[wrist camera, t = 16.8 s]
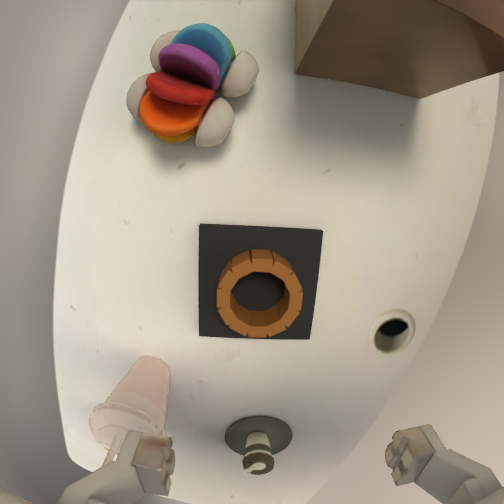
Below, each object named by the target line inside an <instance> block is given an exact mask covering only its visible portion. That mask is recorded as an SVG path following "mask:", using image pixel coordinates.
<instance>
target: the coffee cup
mask: <svg viewBox="0 0 504 504" xmlns="http://www.w3.org/2000/svg"><path fill="white" fill-rule="evenodd" d="M291 440H292V431H291V429H290V427H289V426H288V425H287V424H285V423H284V422H282V421H280V420H278V419H275V418H271V417H251V418H246V419H242V420H240V421H237V422H236V423H234V424H232V425H231V426H230V427H229V429H228V430H227V432H226V435H225V441H226V443H227V445H228V446H229V447H230V448H231V449H232V450H233V451H235V452H236V453H238V454H241V455H244V458H243V467H244V470H245V471H246V472H247V473H250V474H254V475H261V474H265V473H268V472H270V471H271V470H272V469H273V467H274V458H273V457H272V455H274V454H276V453H279V452H281V451H282V450H284V449H285V448H286V447H287V446H288V445H289V444H290V442H291Z"/></svg>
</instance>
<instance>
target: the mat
mask: <svg viewBox="0 0 504 504" xmlns="http://www.w3.org/2000/svg"><path fill="white" fill-rule="evenodd" d="M322 236H323V231H322V230H316V229H300V228H282V227H263V226H243V225H221V224H200V225H199V336H209V337H227V338H250V339H310V333H311V326H312V319H313V312H314V305H315V297H316V290H317V282H318V273H319V265H320V255H321V246H322ZM251 249H263V250H270V253H271V252H272V251H274V252H275V253H277V254H278V255H280V256H281V257H283V258H285V259H286V260H287V261H288V262H289V263H290V265H291V267H292V269H293V271H294V273H295V275H296V277H297V279H298V281H299V283H300V285H301V287H302V292H303V297H302V306H301V310H299V315H298V316H297V317H296V318H295V320H294V321H293V322H292V324H291V325H290V326H289V327H287V326H286V330H284V331H282V332H280V333H278V334H275V335H273V336H271V337H269V336H268V334H267V337H266V338H260V337H248V333H247V334H246V336H243V335H242V334H240V333H238V332H236V331H234V330H233V329H231V328H229V325H226V324H225V322H224V320H223V319H222V317H221V315H220V314H219V312H218V307H217V287H218V283H219V278H220V275H221V273H222V271H223V270H224V268H225V267H226V265H227V264H228V262H229V260H232V258H233V257H235V256H237V255H239V254H241V253H243V252H245V251H247V250H249V251H250V253H251ZM284 286H285V283H284V281H283V280H281V279H280V278H278V277H276V276H275V275H273V274H272V273H270V272H252V273H250V274H248V275H246V276H244V277H242V278H239V279H238V281H237V282H236V284H235V285H234V287H233V288H232V290H231V293H232V294H233V296H234V298H235V300H236V301H237V303H238V304H239V305H241V306H242V307H244V308H246V309H248V310H249V311H265V310H267V309H269V308H271V307H273V306H275V305H276V304H277V303H278V302H279V300H280V299H281V298H282V296H283V295H284Z"/></svg>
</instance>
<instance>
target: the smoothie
mask: <svg viewBox="0 0 504 504" xmlns="http://www.w3.org/2000/svg"><path fill="white" fill-rule="evenodd" d="M169 381H170V370H169V368H168V366H167V365H166V364H165V363H164V362H163V361H161V360H160V359H158V358H155V357H151V356H146V357H142V358H140V359H139V360H138V361H137V362H136V364H135V365H134V366H133V367H132V368H131V370H130V371H129V372H128V373H127V375H126V376H125V377H124V378H123V380H122V381H121V382H120V383H119V384H118V386H117V387H116V388H115V389H114V391H113V392H112V393H111V394H110V396H109V397H108V398H107V399H106V401H105V402H104V403H101V404H99V405H98V406H96V407H95V408H94V410H93V413H92V415H91V417H90V420H89V425H90V429H91V431H92V433H93V435H94V436H95V438H96V439H97V440H98V441H99V442H100V443H101V444H102V445H103V446H104V447H105V448H107V449H108V450H109V451H108V453H107V456H106V458H105V461H104V463H103V465H102V467H103V466H104V465H106V464H108V463H109V462H111V461H113V459H114V456H115V454H117V455H118V454H119V452H120V449H121V447H122V445H123V442H124V440H125V437H126V435H127V433H128V432H129V431H130V430H133V431H138V432H144V433H149V434H154V435H160V436H165V437H166V433H165V431H164V426H165V415H166V406H167V397H168V389H169Z"/></svg>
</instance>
